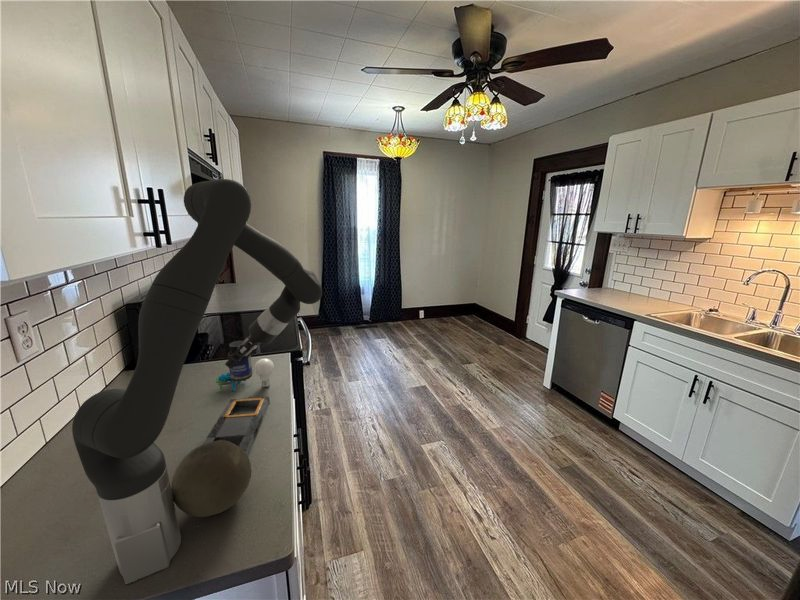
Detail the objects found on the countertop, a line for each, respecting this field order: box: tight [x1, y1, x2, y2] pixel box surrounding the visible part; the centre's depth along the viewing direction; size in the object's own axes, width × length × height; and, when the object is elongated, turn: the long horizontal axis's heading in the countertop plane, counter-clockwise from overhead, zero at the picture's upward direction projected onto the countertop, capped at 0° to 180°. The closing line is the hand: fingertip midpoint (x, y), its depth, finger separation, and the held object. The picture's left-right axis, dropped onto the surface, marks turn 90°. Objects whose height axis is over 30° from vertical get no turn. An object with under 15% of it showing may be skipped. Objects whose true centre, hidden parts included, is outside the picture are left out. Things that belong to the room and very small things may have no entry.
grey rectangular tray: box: [201, 396, 271, 456], centre depth 92 cm, size 28×12×3 cm, turn 9°
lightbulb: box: [254, 357, 275, 388], centre depth 115 cm, size 6×6×11 cm
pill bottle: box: [227, 340, 254, 382], centre depth 95 cm, size 6×6×11 cm
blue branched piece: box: [215, 372, 247, 393], centre depth 114 cm, size 11×6×10 cm
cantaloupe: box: [170, 440, 252, 518], centre depth 67 cm, size 14×14×15 cm
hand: (234, 360), depth 95 cm, fingers closed on pill bottle, 6 cm apart
